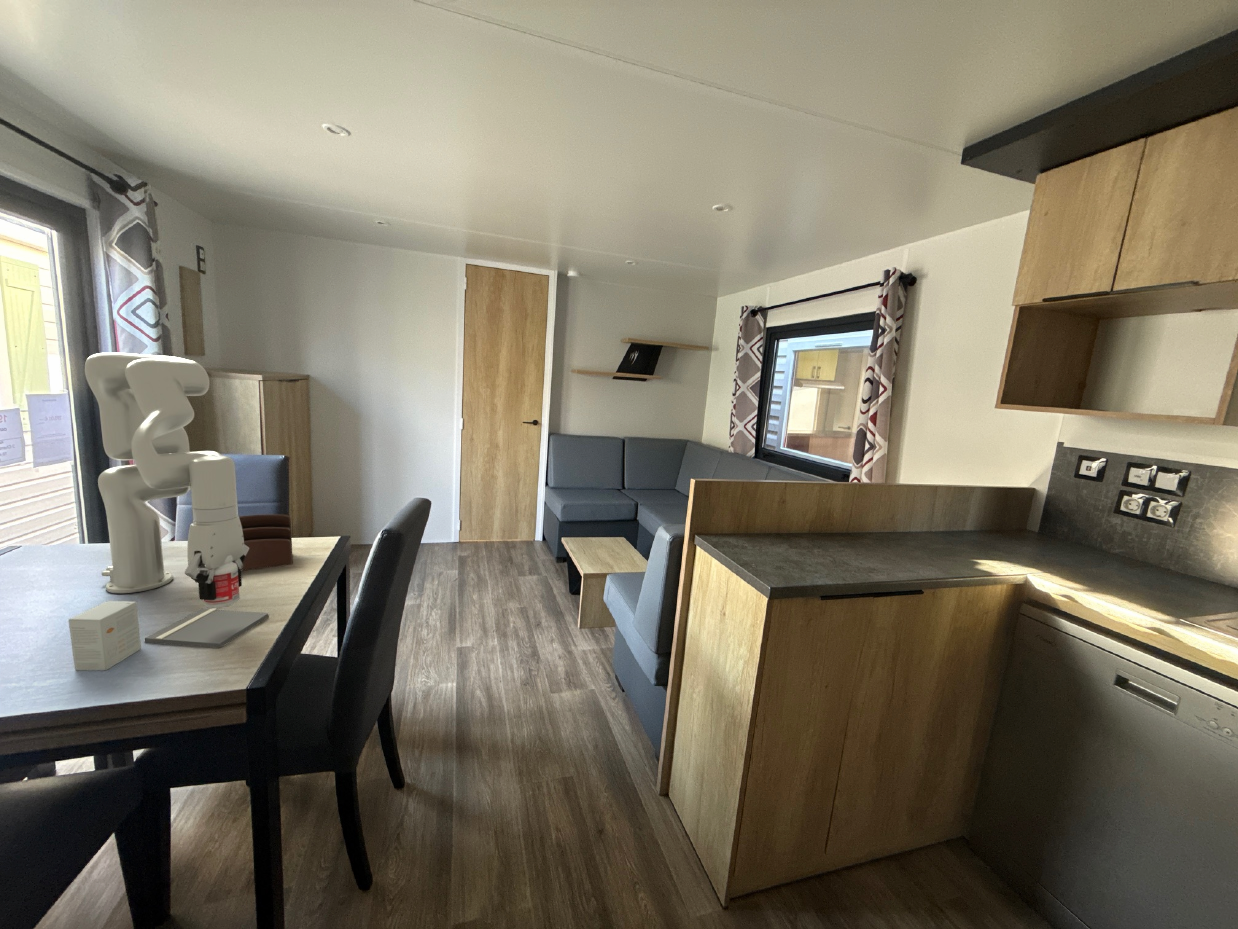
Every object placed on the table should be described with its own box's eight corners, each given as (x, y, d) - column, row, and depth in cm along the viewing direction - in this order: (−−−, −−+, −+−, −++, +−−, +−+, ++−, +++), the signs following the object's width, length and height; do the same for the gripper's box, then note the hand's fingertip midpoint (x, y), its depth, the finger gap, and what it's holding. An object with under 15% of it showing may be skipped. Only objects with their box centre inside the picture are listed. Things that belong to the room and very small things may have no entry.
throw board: (144, 642, 103) (144, 637, 103) (202, 612, 117) (201, 607, 117) (219, 648, 103) (219, 642, 103) (268, 617, 117) (268, 612, 117)
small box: (112, 648, 100) (107, 600, 99) (142, 649, 101) (137, 600, 99) (73, 671, 93) (66, 619, 91) (105, 671, 93) (99, 619, 91)
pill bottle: (238, 605, 108) (235, 557, 106) (202, 611, 105) (198, 562, 103) (240, 595, 113) (237, 549, 111) (206, 600, 110) (202, 552, 108)
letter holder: (212, 563, 145) (208, 517, 143) (292, 554, 157) (290, 511, 154) (207, 575, 137) (204, 526, 135) (293, 565, 148) (291, 519, 146)
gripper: (230, 503, 114) (235, 576, 117) (160, 523, 97) (168, 609, 100) (262, 505, 114) (266, 578, 117) (197, 526, 97) (204, 611, 100)
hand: (221, 592), depth 108 cm, fingers closed on pill bottle, 6 cm apart
